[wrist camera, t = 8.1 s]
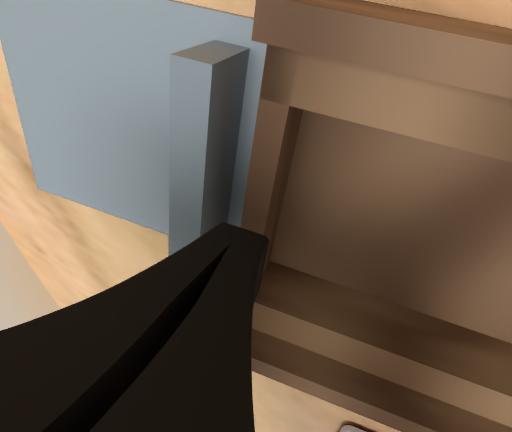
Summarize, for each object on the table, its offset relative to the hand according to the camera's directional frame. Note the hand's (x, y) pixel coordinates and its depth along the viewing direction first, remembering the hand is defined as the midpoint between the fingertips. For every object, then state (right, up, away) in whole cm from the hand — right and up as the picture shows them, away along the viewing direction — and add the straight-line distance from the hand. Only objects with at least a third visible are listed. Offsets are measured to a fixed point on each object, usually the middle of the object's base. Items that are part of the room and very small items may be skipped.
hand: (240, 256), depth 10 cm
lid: (-5, +5, +5) cm, 9 cm away
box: (+7, +1, +3) cm, 8 cm away
